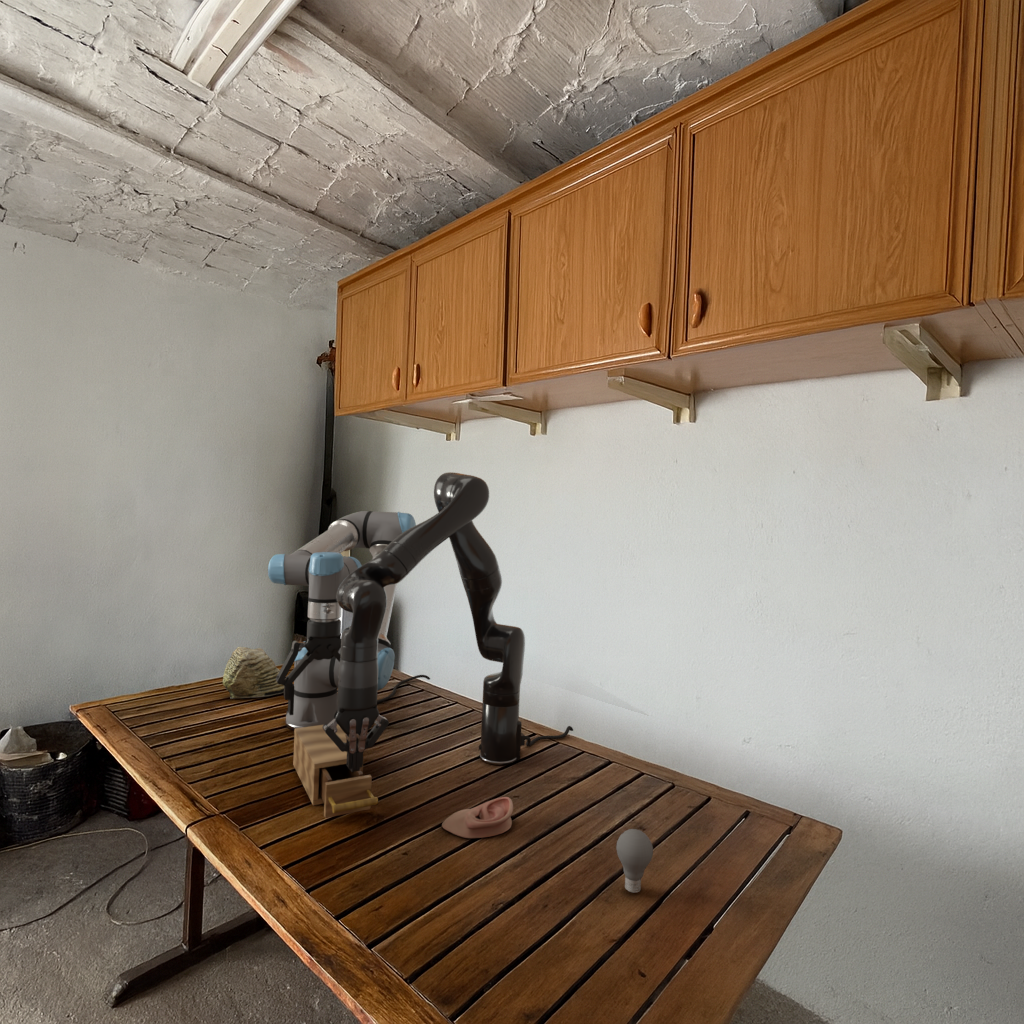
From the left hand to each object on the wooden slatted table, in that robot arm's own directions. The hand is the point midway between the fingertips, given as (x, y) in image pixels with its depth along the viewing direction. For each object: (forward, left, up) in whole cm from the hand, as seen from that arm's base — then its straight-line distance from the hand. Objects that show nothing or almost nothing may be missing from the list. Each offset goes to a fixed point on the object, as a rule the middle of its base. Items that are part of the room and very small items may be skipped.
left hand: (320, 709), depth 148 cm
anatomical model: (-6, +44, -14) cm, 47 cm away
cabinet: (+3, +6, -14) cm, 15 cm away
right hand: (+11, +27, -3) cm, 29 cm away
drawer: (+7, +17, -13) cm, 22 cm away
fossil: (-17, -59, -14) cm, 63 cm away
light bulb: (-8, +78, -14) cm, 79 cm away
